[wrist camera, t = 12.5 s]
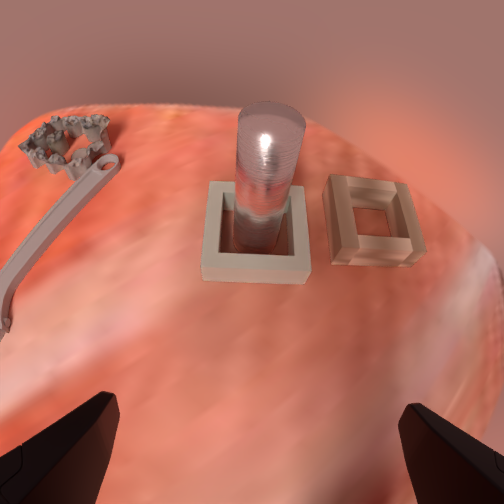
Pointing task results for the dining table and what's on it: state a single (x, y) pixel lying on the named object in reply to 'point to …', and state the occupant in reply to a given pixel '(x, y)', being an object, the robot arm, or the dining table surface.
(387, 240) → the beige square ring
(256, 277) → the square hollow frame
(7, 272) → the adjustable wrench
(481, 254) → the dining table surface
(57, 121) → the grey jagged open ring
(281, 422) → the dining table surface
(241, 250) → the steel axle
